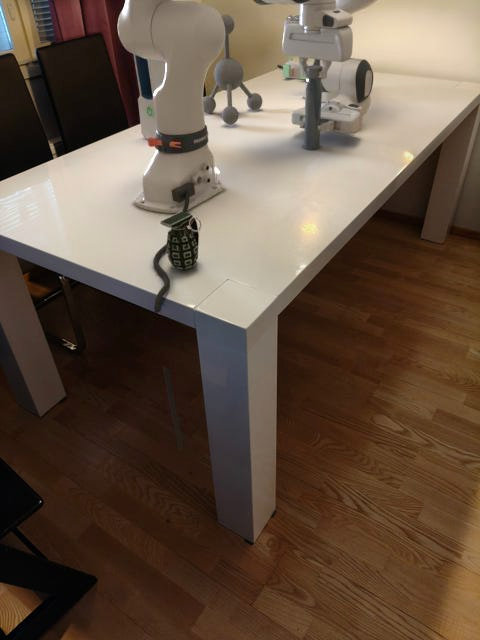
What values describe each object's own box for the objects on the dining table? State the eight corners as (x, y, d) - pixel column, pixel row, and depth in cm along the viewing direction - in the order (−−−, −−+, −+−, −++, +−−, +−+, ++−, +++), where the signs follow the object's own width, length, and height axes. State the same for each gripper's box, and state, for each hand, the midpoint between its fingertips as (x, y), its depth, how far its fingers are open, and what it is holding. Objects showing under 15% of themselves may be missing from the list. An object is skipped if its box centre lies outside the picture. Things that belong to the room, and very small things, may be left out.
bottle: (322, 148, 139) (326, 69, 127) (308, 150, 138) (311, 72, 125) (314, 143, 142) (317, 67, 130) (301, 146, 141) (303, 69, 129)
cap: (302, 76, 129) (303, 66, 128) (316, 74, 131) (316, 64, 130) (312, 79, 126) (312, 69, 125) (325, 76, 128) (326, 67, 126)
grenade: (182, 278, 88) (175, 228, 82) (162, 268, 91) (153, 219, 85) (208, 263, 92) (203, 214, 85) (187, 253, 95) (181, 205, 89)
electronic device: (141, 137, 154) (123, 28, 136) (159, 131, 158) (144, 24, 140) (166, 145, 147) (151, 30, 129) (185, 138, 151) (172, 26, 133)
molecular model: (282, 115, 166) (282, 11, 148) (228, 129, 157) (221, 20, 138) (243, 102, 182) (239, 7, 163) (192, 114, 173) (181, 15, 154)
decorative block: (304, 51, 222) (344, 54, 212) (304, 67, 226) (343, 70, 216) (274, 62, 206) (316, 65, 196) (274, 78, 210) (315, 83, 200)
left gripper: (276, 16, 125) (277, 75, 133) (343, 20, 113) (338, 84, 121) (292, 13, 128) (292, 70, 136) (358, 16, 116) (353, 79, 125)
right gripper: (306, 99, 148) (280, 110, 139) (368, 107, 137) (343, 120, 129) (305, 120, 151) (280, 133, 143) (365, 130, 141) (342, 144, 133)
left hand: (314, 77), depth 129 cm, fingers closed on cap, 4 cm apart
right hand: (310, 127), depth 136 cm, fingers closed on bottle, 4 cm apart
